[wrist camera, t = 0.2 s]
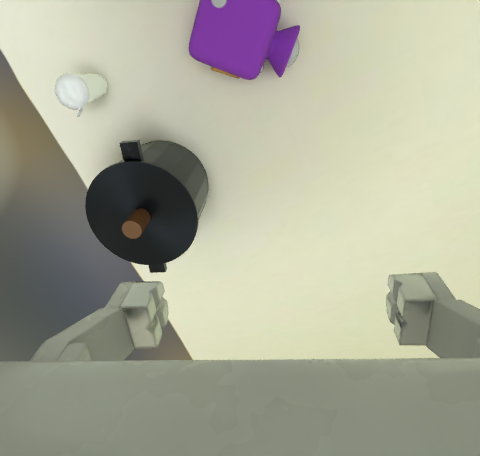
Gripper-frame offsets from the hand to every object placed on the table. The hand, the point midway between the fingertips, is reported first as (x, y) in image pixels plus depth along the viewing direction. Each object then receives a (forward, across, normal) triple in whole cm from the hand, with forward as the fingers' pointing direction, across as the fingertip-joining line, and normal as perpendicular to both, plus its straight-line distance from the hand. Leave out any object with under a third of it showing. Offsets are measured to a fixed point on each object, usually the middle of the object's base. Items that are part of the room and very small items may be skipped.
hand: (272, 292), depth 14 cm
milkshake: (+48, +26, -4) cm, 55 cm away
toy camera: (+48, +3, -9) cm, 49 cm away
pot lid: (+35, +19, +12) cm, 42 cm away
